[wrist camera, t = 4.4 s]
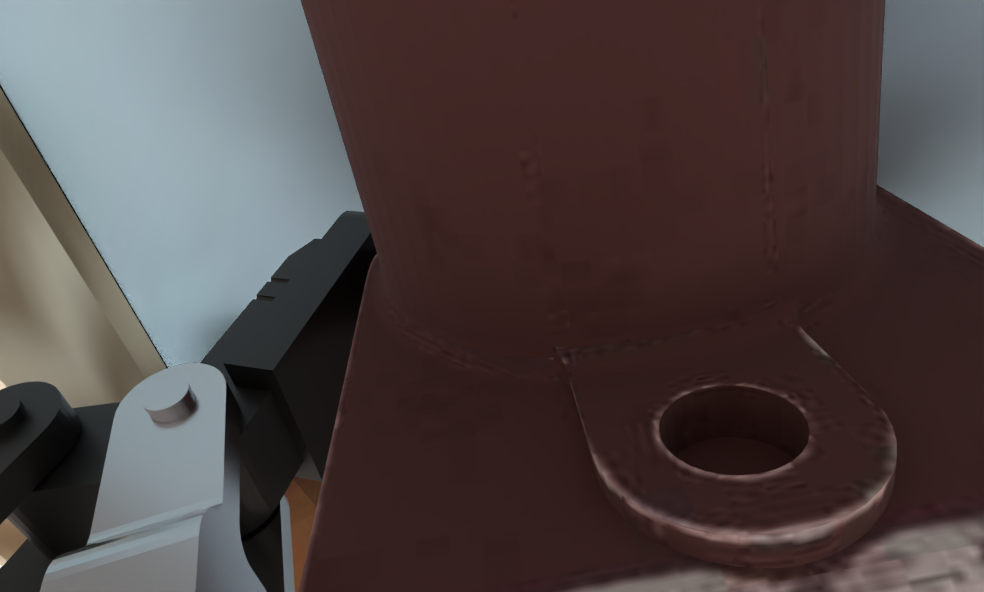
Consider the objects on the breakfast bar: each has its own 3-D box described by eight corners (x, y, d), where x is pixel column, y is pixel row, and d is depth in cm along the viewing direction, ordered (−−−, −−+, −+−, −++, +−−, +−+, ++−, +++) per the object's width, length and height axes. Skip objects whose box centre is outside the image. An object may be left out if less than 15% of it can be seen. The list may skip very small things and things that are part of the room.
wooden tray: (-290, 58, 17) (-495, 125, 15) (-19, 56, 15) (-202, 138, 12) (90, 501, 30) (22, 583, 28) (270, 542, 28) (216, 637, 25)
